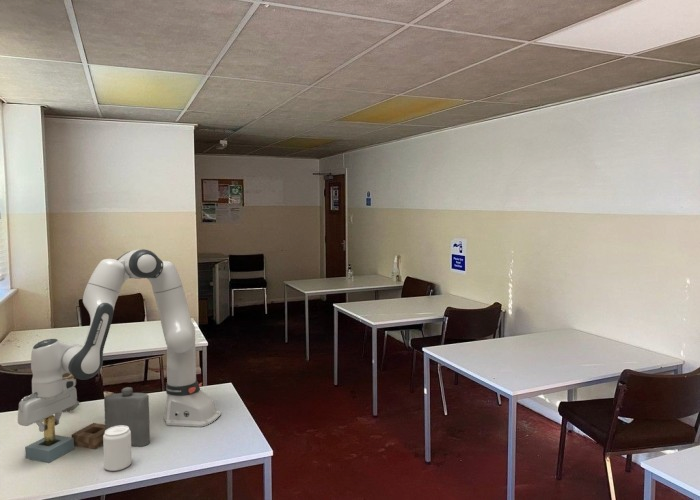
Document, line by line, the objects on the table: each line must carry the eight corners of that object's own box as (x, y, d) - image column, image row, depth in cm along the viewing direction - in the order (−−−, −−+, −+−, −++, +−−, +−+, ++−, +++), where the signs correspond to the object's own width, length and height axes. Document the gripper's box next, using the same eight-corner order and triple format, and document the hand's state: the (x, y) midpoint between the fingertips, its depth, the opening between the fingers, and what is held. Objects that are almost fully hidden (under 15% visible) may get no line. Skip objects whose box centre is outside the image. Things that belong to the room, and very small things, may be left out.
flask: (152, 439, 178) (151, 385, 177) (146, 446, 172) (145, 391, 171) (110, 440, 177) (108, 386, 176) (103, 447, 171) (101, 392, 170)
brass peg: (57, 449, 168) (56, 415, 167) (49, 453, 165) (48, 419, 164) (50, 448, 169) (49, 414, 168) (42, 452, 166) (40, 418, 165)
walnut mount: (116, 436, 180) (115, 426, 180) (94, 449, 170) (94, 438, 170) (94, 433, 183) (93, 422, 182) (71, 445, 173) (71, 434, 173)
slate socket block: (74, 449, 170) (73, 437, 170) (49, 462, 161) (48, 451, 160) (51, 445, 173) (51, 434, 173) (25, 458, 164) (25, 446, 163)
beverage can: (99, 467, 158) (97, 431, 157) (122, 457, 165) (121, 422, 164) (113, 475, 153) (112, 437, 153) (136, 464, 160) (135, 428, 159)
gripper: (26, 400, 154) (28, 442, 155) (79, 379, 174) (80, 417, 175) (11, 398, 156) (13, 440, 157) (65, 377, 176) (66, 415, 177)
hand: (49, 427), depth 166 cm, fingers open, 3 cm apart
